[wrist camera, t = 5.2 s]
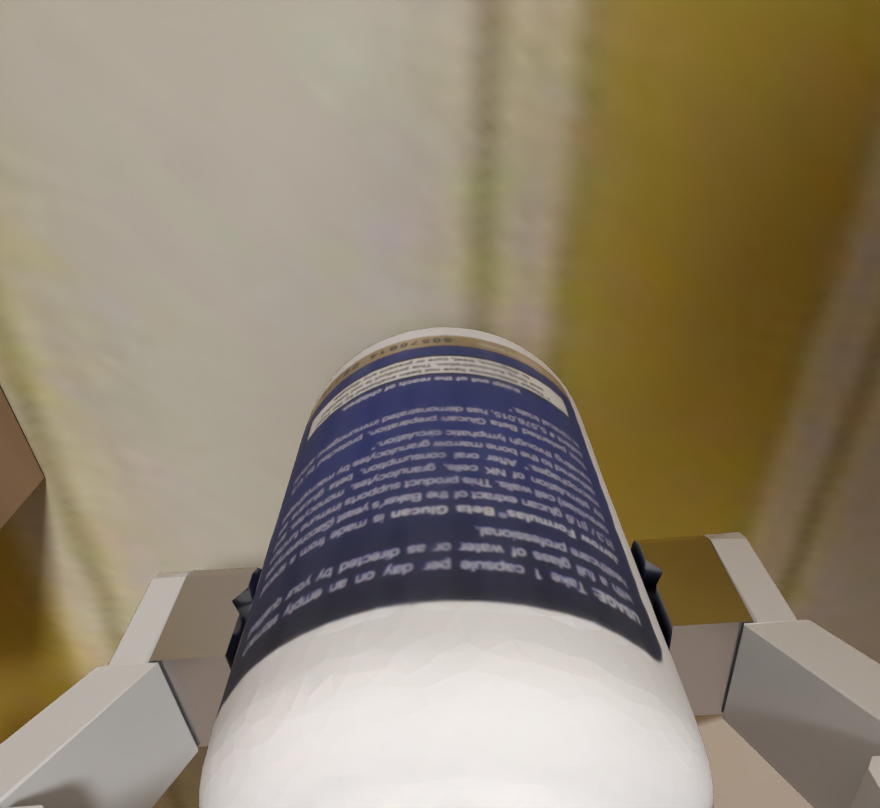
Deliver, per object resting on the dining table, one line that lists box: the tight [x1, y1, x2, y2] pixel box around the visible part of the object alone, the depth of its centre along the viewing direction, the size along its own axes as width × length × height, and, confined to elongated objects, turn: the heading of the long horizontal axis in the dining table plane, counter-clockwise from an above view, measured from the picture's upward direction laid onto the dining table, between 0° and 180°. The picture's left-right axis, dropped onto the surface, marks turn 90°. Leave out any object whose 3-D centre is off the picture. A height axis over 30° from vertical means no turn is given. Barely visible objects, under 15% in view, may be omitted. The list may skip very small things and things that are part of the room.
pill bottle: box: [199, 327, 713, 808], centre depth 9 cm, size 5×5×10 cm
